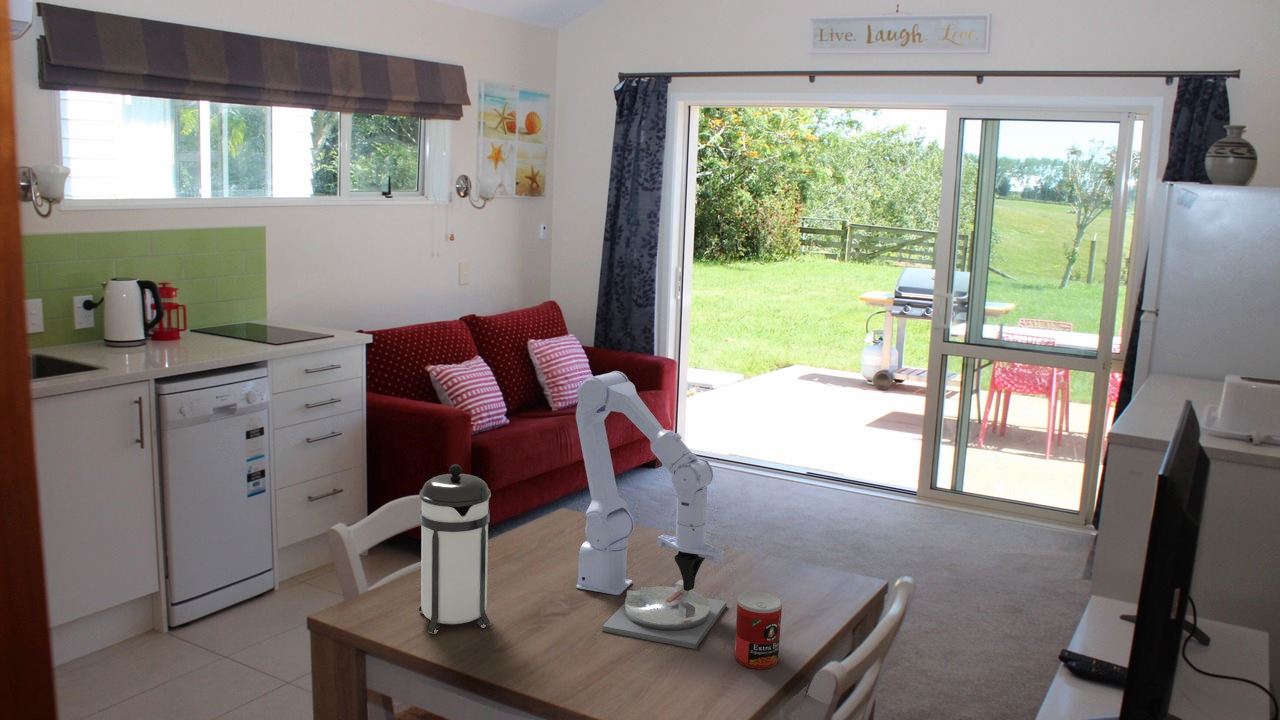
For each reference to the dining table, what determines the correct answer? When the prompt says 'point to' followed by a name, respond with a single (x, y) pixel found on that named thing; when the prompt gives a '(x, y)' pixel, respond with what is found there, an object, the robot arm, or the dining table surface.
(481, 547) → the coffee press
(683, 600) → the round dial
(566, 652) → the dining table surface
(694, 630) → the slate base plate
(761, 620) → the canned food
